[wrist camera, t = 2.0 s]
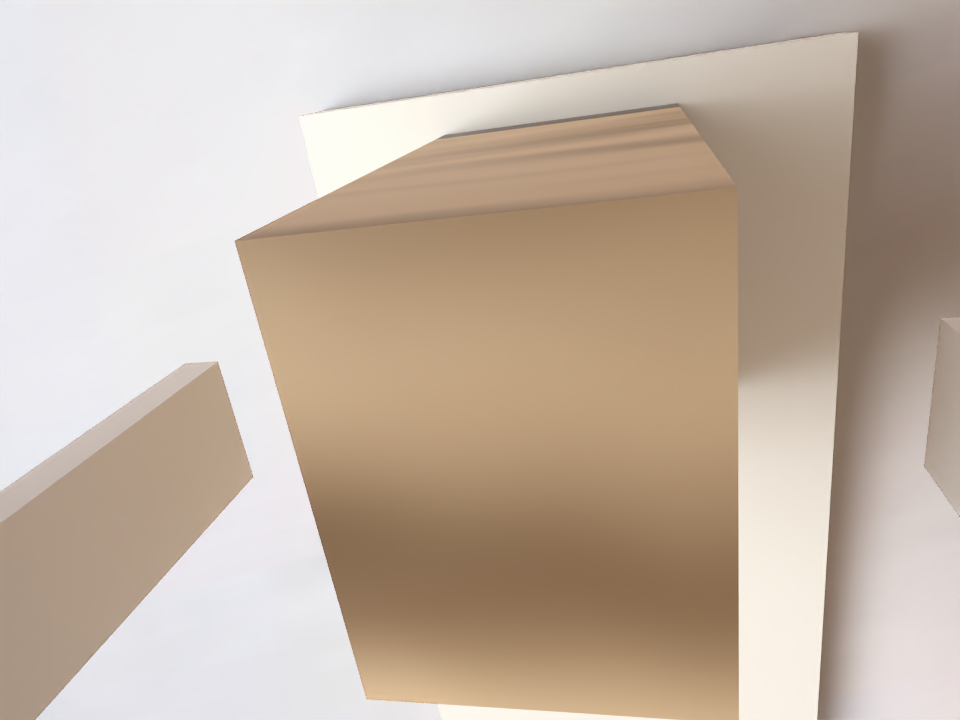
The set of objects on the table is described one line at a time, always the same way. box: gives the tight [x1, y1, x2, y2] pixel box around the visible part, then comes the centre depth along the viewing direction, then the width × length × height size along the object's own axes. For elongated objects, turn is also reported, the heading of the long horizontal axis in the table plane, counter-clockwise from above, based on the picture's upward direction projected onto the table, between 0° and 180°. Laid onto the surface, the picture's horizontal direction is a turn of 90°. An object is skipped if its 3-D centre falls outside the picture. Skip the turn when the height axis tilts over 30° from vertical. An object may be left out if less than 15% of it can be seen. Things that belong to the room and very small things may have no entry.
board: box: [299, 32, 858, 720], centre depth 23 cm, size 24×14×2 cm, turn 9°
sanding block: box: [235, 103, 739, 720], centre depth 15 cm, size 8×6×11 cm
